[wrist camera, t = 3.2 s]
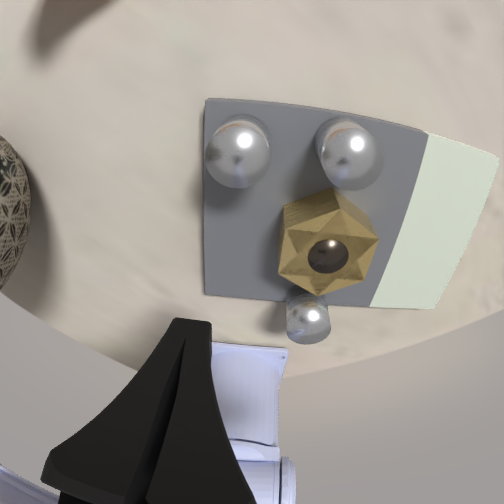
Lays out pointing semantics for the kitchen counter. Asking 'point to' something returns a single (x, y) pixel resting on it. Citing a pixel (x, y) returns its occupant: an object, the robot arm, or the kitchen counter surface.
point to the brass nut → (325, 242)
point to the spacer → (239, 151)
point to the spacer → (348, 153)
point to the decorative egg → (12, 209)
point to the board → (368, 200)
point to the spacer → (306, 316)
